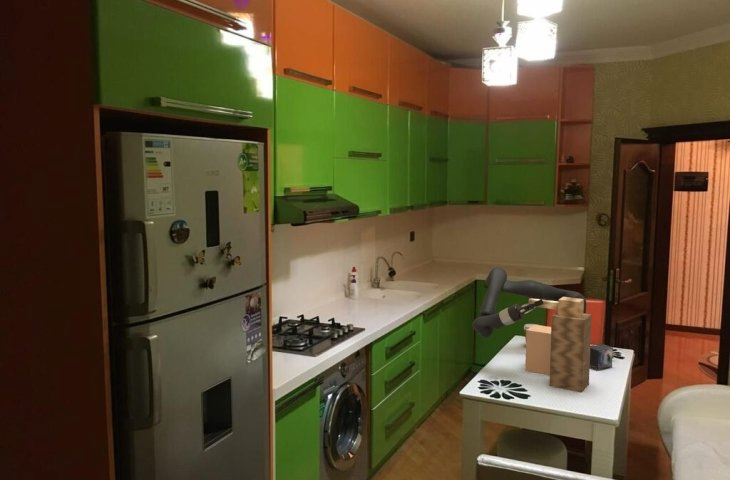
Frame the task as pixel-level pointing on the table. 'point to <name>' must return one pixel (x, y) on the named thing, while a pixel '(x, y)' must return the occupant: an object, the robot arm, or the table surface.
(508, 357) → the table surface
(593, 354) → the small box
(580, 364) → the walnut block
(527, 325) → the disposable coffee cup
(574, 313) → the mallet
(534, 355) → the pedestal
